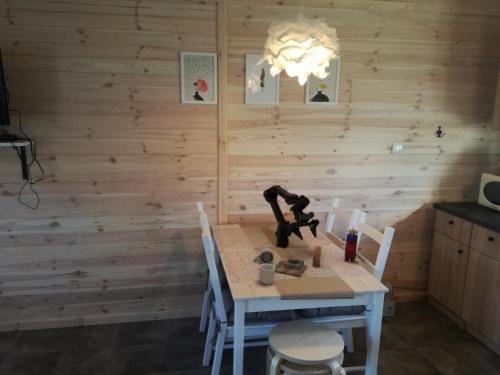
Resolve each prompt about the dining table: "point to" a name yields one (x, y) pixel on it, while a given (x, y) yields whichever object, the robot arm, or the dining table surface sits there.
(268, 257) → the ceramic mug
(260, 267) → the cup
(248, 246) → the dining table surface
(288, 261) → the socket board
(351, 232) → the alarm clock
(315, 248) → the peg
